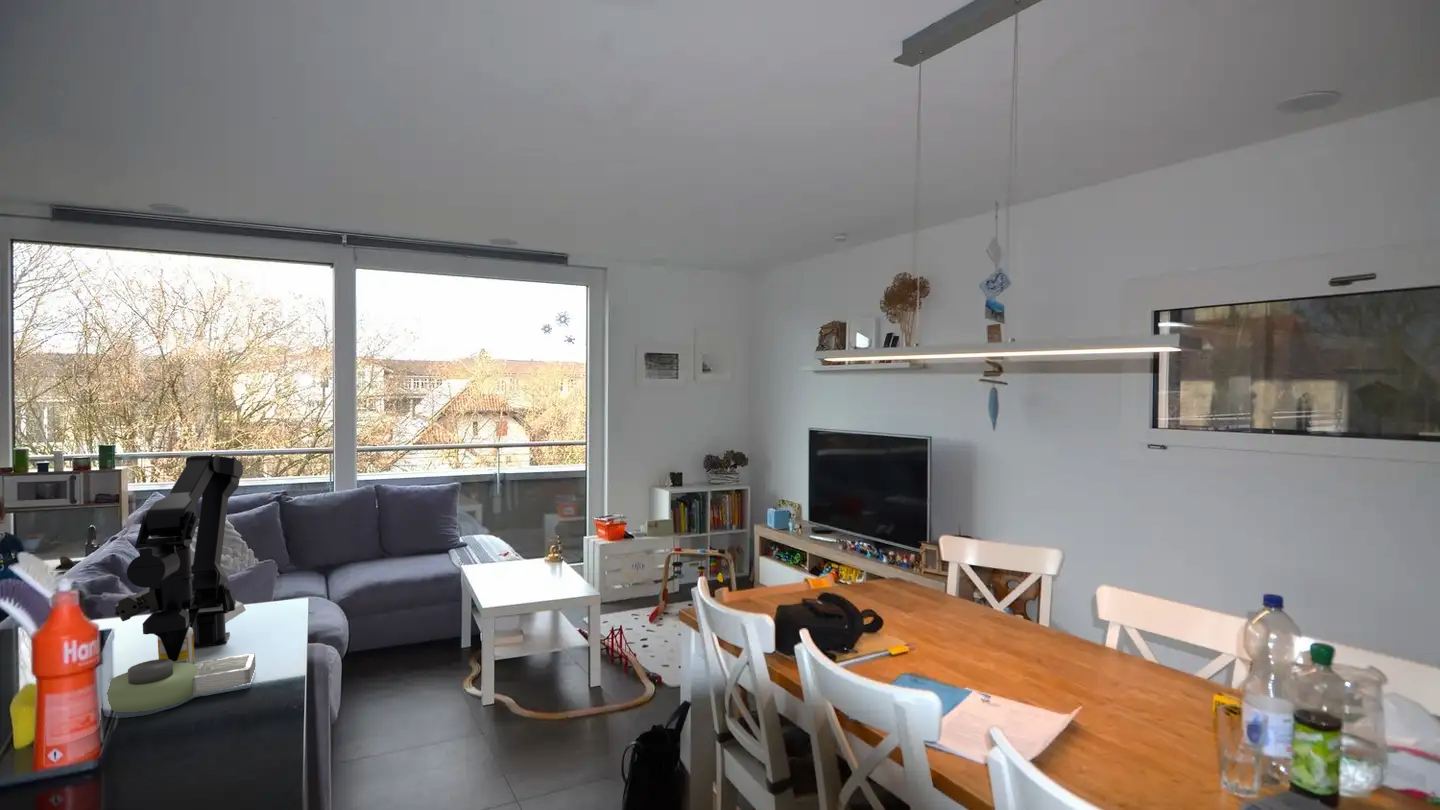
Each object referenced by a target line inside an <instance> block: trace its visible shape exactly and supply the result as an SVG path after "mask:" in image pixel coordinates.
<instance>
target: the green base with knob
mask: <svg viewBox="0 0 1440 810" xmlns="http://www.w3.org/2000/svg"><path fill="white" fill-rule="evenodd" d="M197 674H198V667H197V664H195V665H194V664H190V663H173V661H172V660H170V659H159V658H158V659H151V660H147V661H144V662H141V663H136V664H134V665H132V666H130V667H129V668H128V669H127V672H124V673H122V674H119V675H117V676H114V677H112V678H110V679H111V681H110V686H109V689H108V692H107V695H108V701H109V704H110V706H111V708H112V710H113V711H116V712H138V711H148V710H153V709H157V708H161V707H164V706H168V705H172V704H175V703H178V702H181V701H183V700H185V699H187V698H189V697H191V696H193V679H192V678H193V677H195V676H196V675H197Z"/></svg>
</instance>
